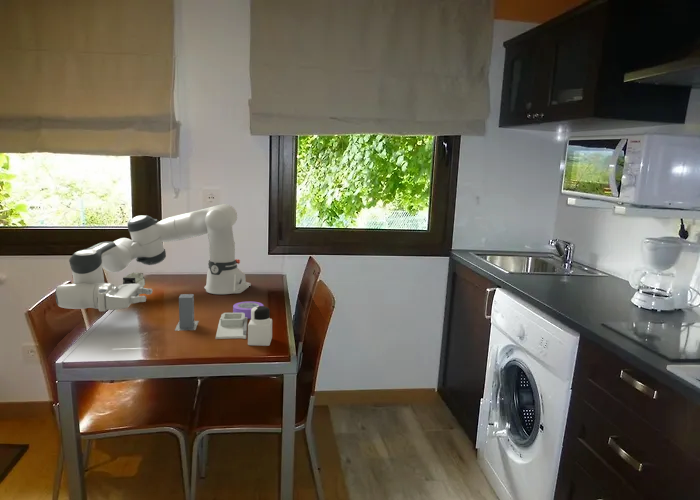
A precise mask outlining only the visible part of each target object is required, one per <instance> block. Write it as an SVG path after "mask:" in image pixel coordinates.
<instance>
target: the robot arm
mask: <svg viewBox="0 0 700 500" xmlns="http://www.w3.org/2000/svg"><path fill="white" fill-rule="evenodd" d="M237 213H238V212H237V210H236V208H235V207H233V206H232V205H230V204H228V203H223V204H222V203H221V204H218V205H214V206H210V207H206V208H202V209H198V210H193V211H190V212H189V211H188V212H186V213H181V214H175V215H173V216H169V217H166V218H163V219H161V220H160V221H159V220H158V219H157V218H153V217H152V216H149V215H147V214H146V215H136V216H134V217H133V218H132V219H130V220H129V221H128V222H127V229H128V232H129V235H130V238H131V239H130V238H127V237H120V238H118V239H115V240H114V241H102V242H99V243H97V244H94V245H92V246H90V247H87V248H84V249H80V250H78V251H76V252H74V253H73V254H72V255H71V257H70V258H69V260H68V262H69V265H70V269H71V273H72V280H73V283H64V284H63V283H62V284H59V285H57V286H56V288H55V291H54V292H55V293H54V294H55V302H56V304H57V306H58V307H60V308H62V309H63V308H64V309H69V310H71V309H74V310H80V309H81V310H83V309H84V310H85V309H88V308H91V309H96V310H97V309H98V311H99V312H106V311H112V310H113V311H115V310H124V309H128V308H129V307H130V306H131V305H132V304H138V303H144V302H145V303H146V301H147V296H146V295H152V294H153V289H152V288H146V287H144V288H141V284H123V283H122V284H119V285H115V284H114V282H105V278H104V277H105V276H104V270H105V271H107V272H109V273H118V272H122V271H124V270H126V268H127V267H129V266H130V264H131V263H132V262H133V260H135V261H136V262H137V263H142V264H143V265H146V266H153V265H157V264H160V263H161V262H163V261H164V260H165V259H166V257H167V254H166V253H167V251H166V249H165V247H164V243H165V242H167V243H169V242H176V241H182V240H186V239H191V238H194V237H199V236H202V235H206V234H207V237H208V242H209V243H208V245H209V246H208V248H209V249H208V250H209V260H208V270H207V272H206V282H205V283H206V285H204V289H205V292H206V293H209V294H211V295H212V294H213V295H230V294H231V295H232V294H241V293H242V292H244V291H245V290H247V289H248V288H249V286H250V287H251V286H252V285H251V282H247V281H246V274H245V273H244V272H243V271H242V270H241V269H240V268H238V265H239V264H240V263H241V260H240V259H238V258H237V259H236V256H235V255H236V252H235V251H236V248H235V246H236V245H235V244H236V243H235V240H234V234H233V233H234V232H233V226H234V225H235V224H236V222H237V219H238V214H237ZM237 264H238V265H237ZM139 295H140V296H139ZM138 296H139V297H138Z"/></svg>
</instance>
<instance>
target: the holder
mask: <svg viewBox="0 0 700 500" xmlns="http://www.w3.org/2000/svg"><path fill="white" fill-rule="evenodd" d="M247 333H248V319H247V317H245V313H233V312H223V313H221V315H220V318H219V321H218V325H217V330H216V334H215V340H221V339H222V340H223V339H225V340H226V339H243V340H246V339H247Z"/></svg>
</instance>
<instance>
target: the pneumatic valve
mask: <svg viewBox="0 0 700 500" xmlns="http://www.w3.org/2000/svg"><path fill="white" fill-rule="evenodd" d="M122 284H141V288H145V286H146V278H145V277H144V273H143V272H140V273H139V272H131V273H129V274H127V275H125V276H123V277H122ZM139 296H141V294H140V295H139ZM139 296H138V297H139Z"/></svg>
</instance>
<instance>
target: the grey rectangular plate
mask: <svg viewBox="0 0 700 500" xmlns="http://www.w3.org/2000/svg"><path fill="white" fill-rule="evenodd" d="M199 322H200V320H194V325H193V327H191V328H180V327H179V321H178V322H177V324H176V326H175V329H174V331H178V332H179V331H196V330H197V328H198V325H199Z"/></svg>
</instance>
